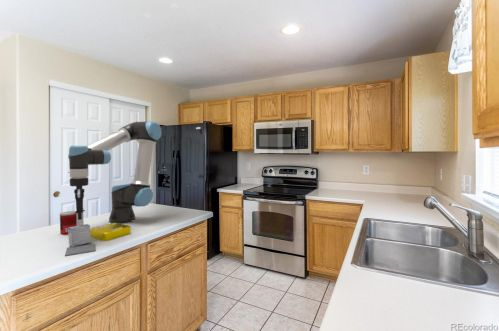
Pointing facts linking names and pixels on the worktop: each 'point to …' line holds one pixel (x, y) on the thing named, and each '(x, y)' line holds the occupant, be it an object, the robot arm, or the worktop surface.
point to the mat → (80, 249)
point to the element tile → (110, 231)
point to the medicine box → (79, 235)
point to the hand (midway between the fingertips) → (80, 225)
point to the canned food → (67, 221)
